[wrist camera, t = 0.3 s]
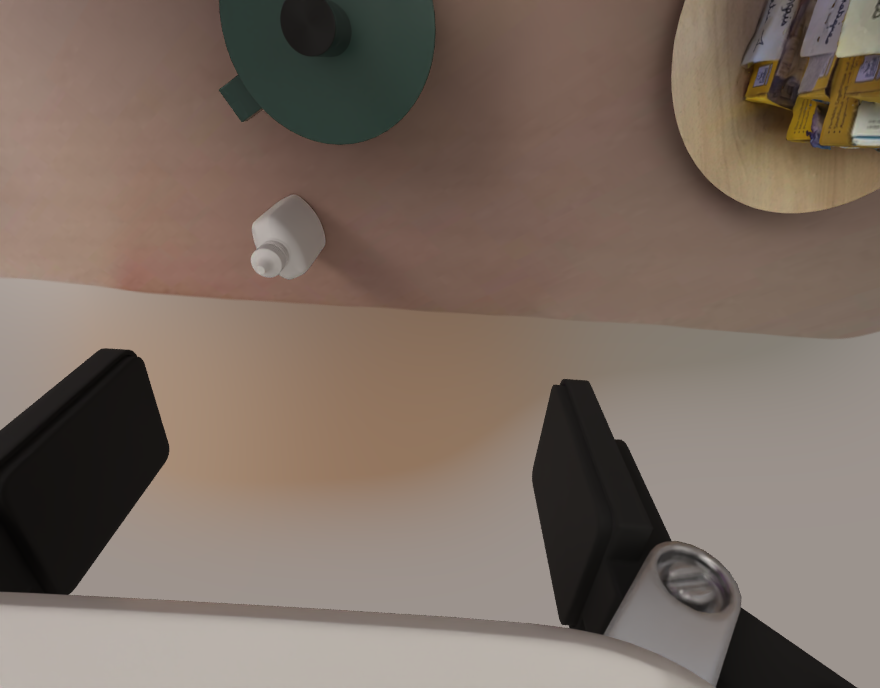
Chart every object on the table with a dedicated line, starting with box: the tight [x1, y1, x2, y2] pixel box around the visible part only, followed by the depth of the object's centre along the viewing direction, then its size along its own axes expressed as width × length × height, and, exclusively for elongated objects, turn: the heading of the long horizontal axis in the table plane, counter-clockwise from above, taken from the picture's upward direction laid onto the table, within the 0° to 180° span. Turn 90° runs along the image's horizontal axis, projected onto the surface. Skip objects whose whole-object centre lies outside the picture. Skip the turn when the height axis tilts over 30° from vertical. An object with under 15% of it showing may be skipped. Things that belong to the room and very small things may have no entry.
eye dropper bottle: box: [251, 194, 326, 280], centre depth 40 cm, size 4×6×12 cm
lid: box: [219, 0, 436, 145], centre depth 28 cm, size 14×14×6 cm
